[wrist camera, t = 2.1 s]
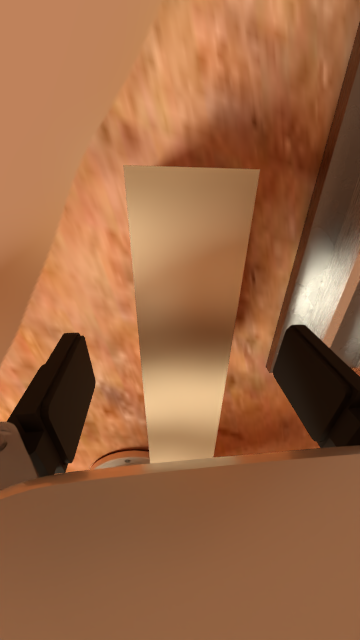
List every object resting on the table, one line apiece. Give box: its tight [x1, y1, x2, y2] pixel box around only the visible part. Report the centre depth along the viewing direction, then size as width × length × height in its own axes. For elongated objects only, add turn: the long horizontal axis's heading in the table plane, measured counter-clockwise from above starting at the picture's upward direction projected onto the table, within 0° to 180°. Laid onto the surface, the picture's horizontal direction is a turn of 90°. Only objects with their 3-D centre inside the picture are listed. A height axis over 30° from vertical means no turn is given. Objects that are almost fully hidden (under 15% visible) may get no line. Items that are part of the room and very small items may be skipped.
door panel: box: [123, 165, 260, 464], centre depth 15 cm, size 16×4×11 cm, turn 179°
